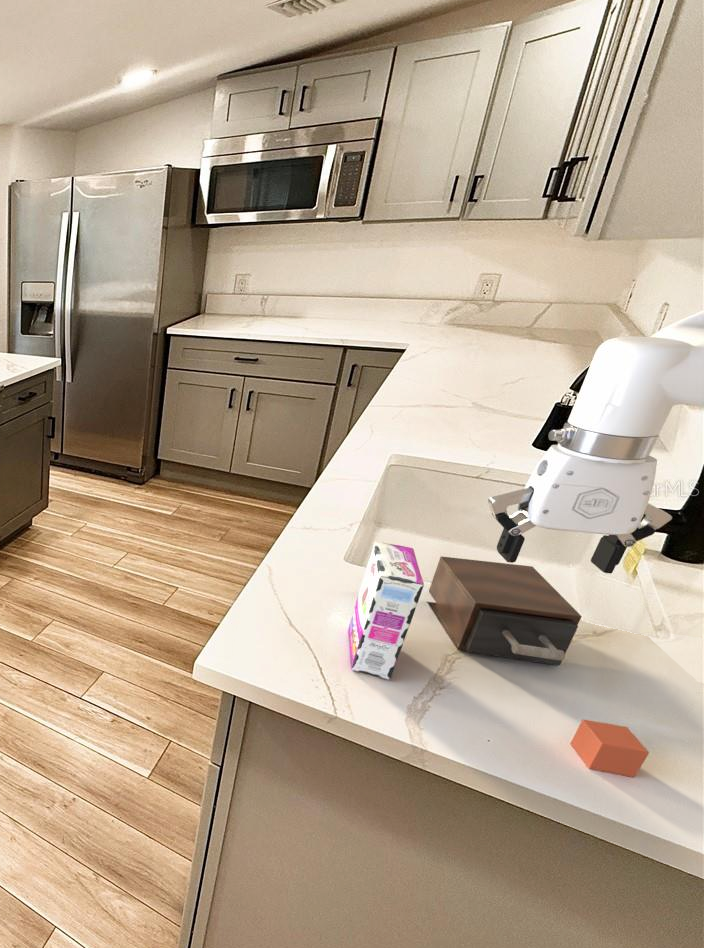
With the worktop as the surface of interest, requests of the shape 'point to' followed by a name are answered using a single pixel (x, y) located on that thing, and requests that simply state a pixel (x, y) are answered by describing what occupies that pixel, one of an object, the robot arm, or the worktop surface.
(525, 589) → the cabinet
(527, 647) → the drawer
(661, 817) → the worktop surface
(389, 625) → the candy bar box
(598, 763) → the block
